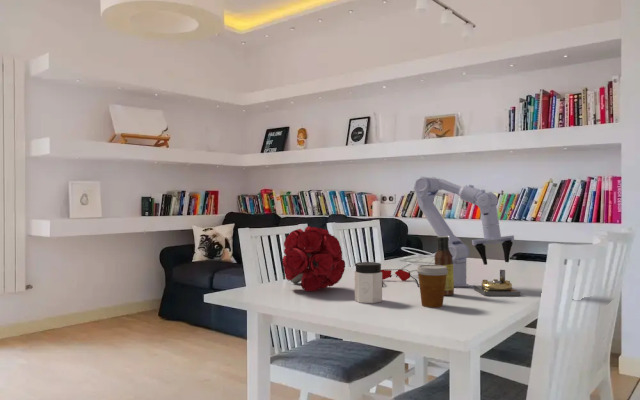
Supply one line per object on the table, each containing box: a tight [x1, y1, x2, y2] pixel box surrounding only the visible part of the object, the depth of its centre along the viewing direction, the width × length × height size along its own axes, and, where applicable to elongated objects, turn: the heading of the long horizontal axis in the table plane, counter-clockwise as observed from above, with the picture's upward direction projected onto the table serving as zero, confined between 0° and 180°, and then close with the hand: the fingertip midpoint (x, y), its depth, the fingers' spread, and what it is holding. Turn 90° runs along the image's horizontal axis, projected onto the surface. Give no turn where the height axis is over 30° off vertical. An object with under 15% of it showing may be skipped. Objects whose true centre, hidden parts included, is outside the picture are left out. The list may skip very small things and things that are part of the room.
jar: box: [354, 261, 383, 304], centre depth 165 cm, size 9×8×12 cm
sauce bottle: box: [434, 235, 455, 297], centre depth 176 cm, size 6×6×20 cm
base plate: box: [473, 285, 521, 297], centre depth 179 cm, size 12×12×2 cm
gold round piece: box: [481, 269, 513, 291], centre depth 179 cm, size 10×10×6 cm
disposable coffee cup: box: [416, 264, 448, 308], centre depth 158 cm, size 10×10×12 cm
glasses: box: [381, 268, 420, 288], centre depth 198 cm, size 14×16×5 cm
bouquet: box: [282, 225, 346, 292], centre depth 187 cm, size 22×24×30 cm
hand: (496, 263), depth 183 cm, fingers open, 7 cm apart
